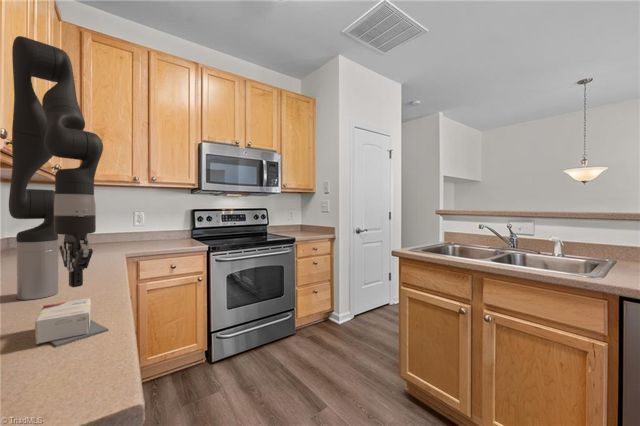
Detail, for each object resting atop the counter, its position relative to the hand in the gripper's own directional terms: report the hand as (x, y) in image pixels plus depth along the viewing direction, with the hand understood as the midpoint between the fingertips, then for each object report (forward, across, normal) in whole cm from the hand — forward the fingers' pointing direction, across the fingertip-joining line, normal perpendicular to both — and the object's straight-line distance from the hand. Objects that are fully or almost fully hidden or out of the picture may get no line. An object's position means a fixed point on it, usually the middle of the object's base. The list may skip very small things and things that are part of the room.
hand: (75, 286), depth 68 cm
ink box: (+6, -3, -1) cm, 7 cm away
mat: (+9, +4, -2) cm, 10 cm away
